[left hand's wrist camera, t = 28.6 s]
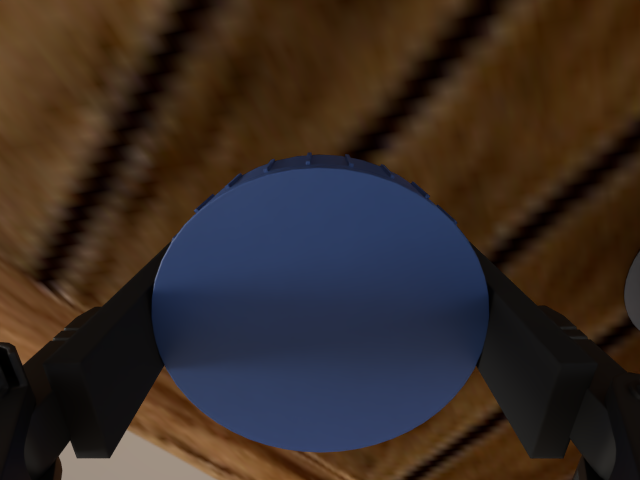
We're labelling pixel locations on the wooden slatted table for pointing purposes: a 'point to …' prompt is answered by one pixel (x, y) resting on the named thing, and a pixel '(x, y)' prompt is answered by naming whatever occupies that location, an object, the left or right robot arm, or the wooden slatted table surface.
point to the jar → (633, 292)
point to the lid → (320, 305)
